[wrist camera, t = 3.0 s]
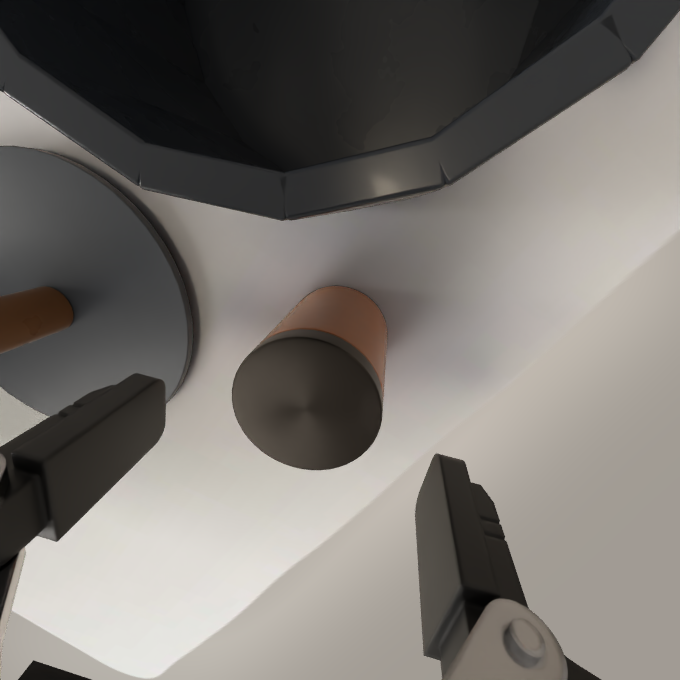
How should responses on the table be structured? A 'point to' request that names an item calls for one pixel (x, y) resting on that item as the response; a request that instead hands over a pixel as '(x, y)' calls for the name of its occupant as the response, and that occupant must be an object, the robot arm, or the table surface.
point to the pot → (311, 88)
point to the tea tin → (316, 382)
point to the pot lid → (82, 286)
